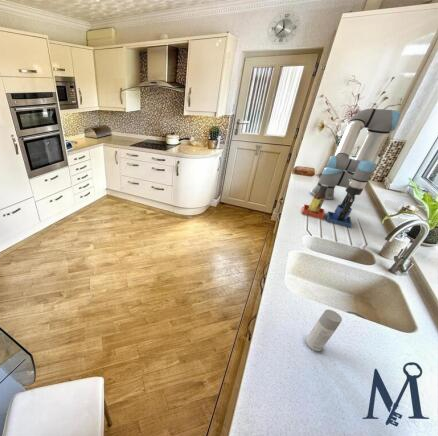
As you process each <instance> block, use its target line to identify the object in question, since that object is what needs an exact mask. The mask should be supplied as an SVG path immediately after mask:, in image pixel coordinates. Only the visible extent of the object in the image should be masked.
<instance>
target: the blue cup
mask: <svg viewBox="0 0 438 436" xmlns="http://www.w3.org/2000/svg"><path fill="white" fill-rule="evenodd" d="M343 208H344V205H341V204H337V205H336V208H335V209H334V211H333V215H332V219H334V220H337V219H338V217H339V215H340V212H342V210H343ZM352 211H353V208H352V207H350V210H349V212H348V214H346V215H345V217H344V219H343V221H342V222H346V220H347V218H348V217H349V216H350V215H351V213H352Z"/></svg>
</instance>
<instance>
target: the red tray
mask: <svg viewBox="0 0 438 436" xmlns="http://www.w3.org/2000/svg"><path fill="white" fill-rule="evenodd" d="M309 206H310V204H305V203H304V204H303V206H302V212H301V214H302V215H305V216H309V217H313V218H317V219H321V220H324V218H325V208H322V207H321V208H320V210H319V212H318V213H317V214H316V213H312V212H308V208H309Z"/></svg>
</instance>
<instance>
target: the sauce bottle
mask: <svg viewBox="0 0 438 436" xmlns="http://www.w3.org/2000/svg"><path fill="white" fill-rule="evenodd" d="M327 188H328V186H327V185H324V184H321V186H320V189H319V191H318V192H316V193H315V195H314V196H313V197H312V199H311V201H310V204H309V208H308V212H312V213H316V214H317V213H318V212H319V210H320V208H322V206H323V203H324V202H325V200H326V199H325V192H326V190H327Z"/></svg>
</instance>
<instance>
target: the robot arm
mask: <svg viewBox="0 0 438 436" xmlns="http://www.w3.org/2000/svg"><path fill="white" fill-rule="evenodd" d="M400 118H401V111H400V110H396V109H385V108H384V109H381V108H365V109H362V110H360V111H358V112H357V113H355V114H353V115H352V116H351V117H350V118H348V121H347V122H346V124H345V131H344V133H343V136H342V138H341V140H340V143H339V145H338V147H337V149H336V151H335V154H334V155H330V157H329V159H328V161H327V163H326V167H324V169H323V171H322V172H321V173H320V174H319V175H318V178H319V179H318V182H317V184H316V185H315V186H314V187H313V188H312V189H311V192H310V194H311V195H312V196H313V197H314V195H315V193H316V192H318V191H319V189H320V186H321V184H324V185H327V186H328V188H327V190H326V192H325V199H324V200H332V199H333V198H334V197H335V188H336V187H339V188H345V192H346V195H345V196H344V199H343V200H342V202H341V203H340V205H344V208H343V210H342V212H340V215H339V217H338V219H337V220H338V221H343V219H344V217H345V215H346V214H348V212H349V210H350V208H352V206H353V203H354V202H355V201H356V196H360V195H361V194H362V193H363V190H364V189H365V188H366V185H367V183H368V181H369V179H370V177H371V176H372V174H373V172H374V171H375V170H376V166H377V163H376V162H375V161H373V158H374V157H375V155H376V153H377V151H378V149H379V147H380V145H381V144H382V142H383V140H384V138H385V137H386V136H388V135H389V134H390V133H391V132H393V131H395V130H396V128H397V126H398V123H399V121H400ZM364 128H365V129H366V132H367V135H366V137H365V139H364V141H363V144H362V145H361V147H360V149H359V150H358V154H357V155H356V157H355V158H350V156H351V154H352V151H353V149H354V147H355V145H356V142H357V139H358V137H359V135H360V133H361V131H362V130H363V129H364Z"/></svg>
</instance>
